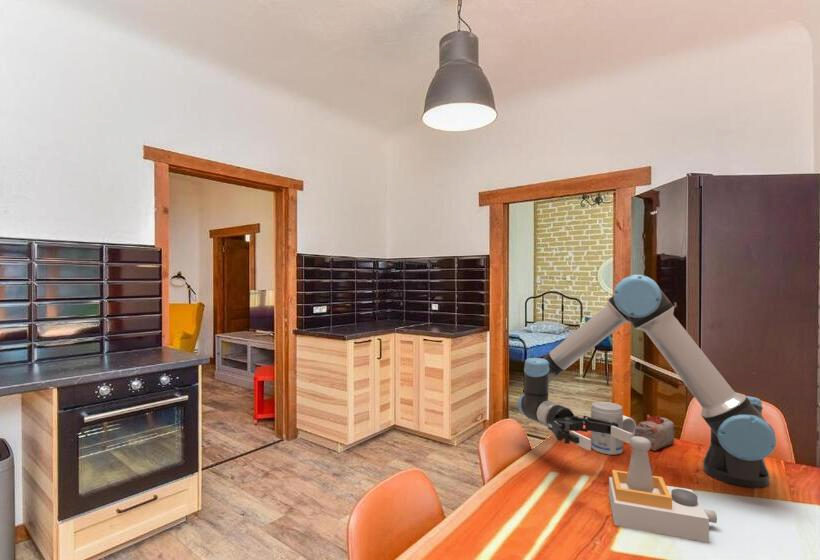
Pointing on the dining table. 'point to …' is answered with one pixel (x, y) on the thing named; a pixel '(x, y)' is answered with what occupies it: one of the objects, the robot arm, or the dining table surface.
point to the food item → (656, 432)
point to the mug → (629, 425)
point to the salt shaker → (640, 466)
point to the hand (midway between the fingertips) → (611, 441)
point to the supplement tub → (602, 440)
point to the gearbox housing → (659, 509)
